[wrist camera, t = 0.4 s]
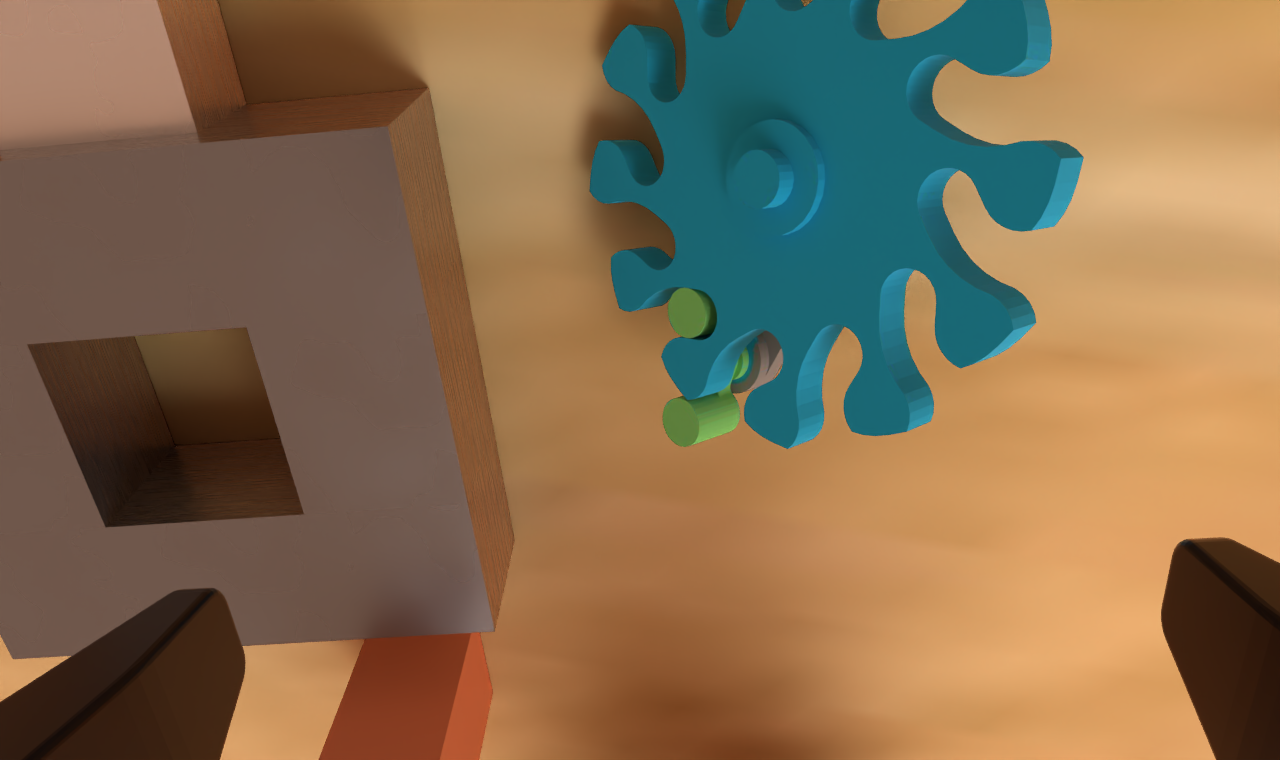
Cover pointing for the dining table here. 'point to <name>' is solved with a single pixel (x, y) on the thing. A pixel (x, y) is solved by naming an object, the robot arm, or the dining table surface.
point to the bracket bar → (112, 70)
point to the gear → (818, 204)
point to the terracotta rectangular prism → (414, 701)
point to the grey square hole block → (291, 372)
